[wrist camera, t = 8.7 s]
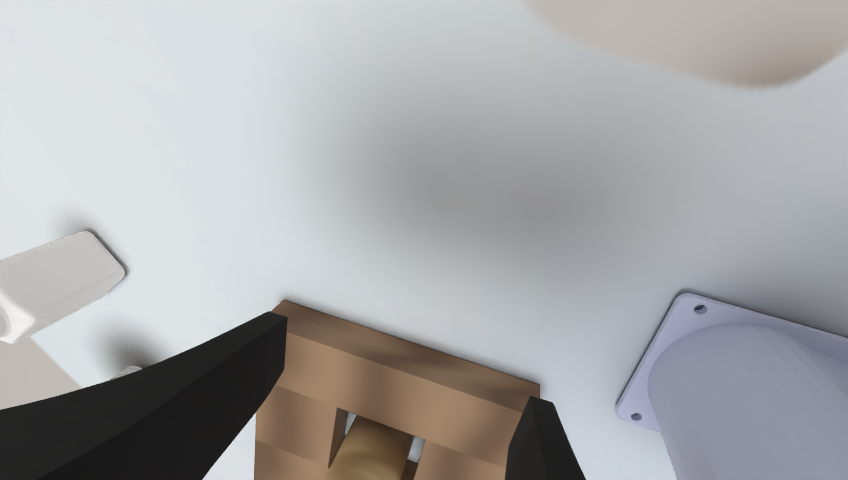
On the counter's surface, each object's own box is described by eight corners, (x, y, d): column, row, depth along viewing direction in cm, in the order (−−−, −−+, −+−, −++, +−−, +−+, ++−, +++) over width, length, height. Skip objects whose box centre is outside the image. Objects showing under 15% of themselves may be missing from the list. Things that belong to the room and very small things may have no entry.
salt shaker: (90, 224, 27) (-114, 297, 18) (133, 272, 28) (-45, 363, 19) (64, 252, 29) (-135, 330, 20) (105, 296, 29) (-70, 390, 21)
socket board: (539, 384, 23) (540, 418, 21) (477, 529, 29) (472, 568, 27) (283, 299, 25) (259, 322, 23) (274, 450, 31) (253, 480, 29)
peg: (418, 406, 26) (375, 535, 19) (414, 450, 28) (372, 585, 20) (359, 391, 27) (295, 509, 20) (358, 435, 28) (299, 559, 21)
